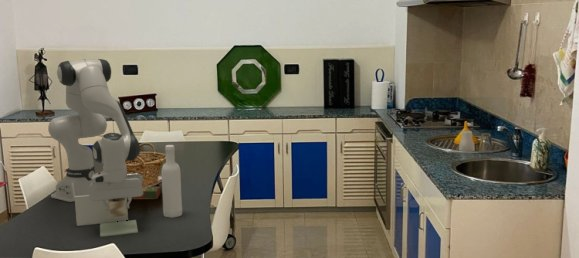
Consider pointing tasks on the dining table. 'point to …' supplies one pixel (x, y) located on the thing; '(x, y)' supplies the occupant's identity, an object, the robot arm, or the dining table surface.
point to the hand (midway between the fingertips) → (117, 209)
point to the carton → (149, 193)
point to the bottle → (171, 185)
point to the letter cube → (117, 207)
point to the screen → (94, 211)
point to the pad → (118, 228)
